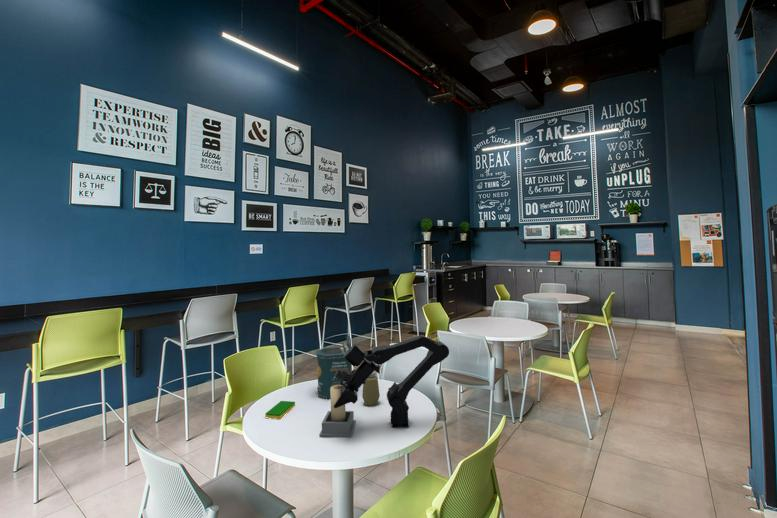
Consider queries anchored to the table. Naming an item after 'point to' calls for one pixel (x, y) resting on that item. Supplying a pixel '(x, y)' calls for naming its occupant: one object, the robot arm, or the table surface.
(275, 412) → the dish sponge
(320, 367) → the dark green canister
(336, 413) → the paper roll
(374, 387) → the squeeze bottle
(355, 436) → the table surface
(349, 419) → the square tray
